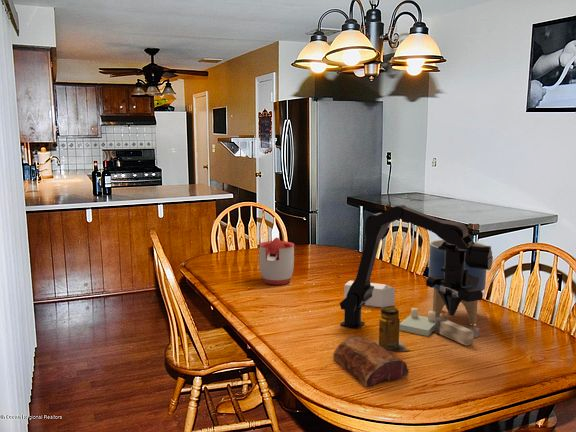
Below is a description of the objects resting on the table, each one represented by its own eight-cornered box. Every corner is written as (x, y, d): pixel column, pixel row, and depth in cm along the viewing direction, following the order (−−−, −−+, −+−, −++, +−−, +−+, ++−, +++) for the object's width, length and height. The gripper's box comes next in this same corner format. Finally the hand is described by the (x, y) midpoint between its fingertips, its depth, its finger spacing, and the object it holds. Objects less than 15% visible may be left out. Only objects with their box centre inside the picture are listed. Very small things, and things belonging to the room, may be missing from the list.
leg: (432, 331, 170) (433, 318, 170) (440, 329, 172) (441, 316, 171) (465, 345, 158) (466, 332, 158) (473, 343, 160) (474, 330, 159)
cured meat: (369, 342, 162) (369, 321, 161) (421, 375, 140) (422, 351, 139) (318, 353, 155) (318, 331, 154) (365, 390, 132) (366, 365, 131)
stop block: (476, 338, 165) (477, 331, 165) (460, 335, 168) (461, 327, 168) (478, 335, 168) (479, 328, 168) (463, 332, 171) (463, 325, 170)
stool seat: (428, 336, 167) (428, 321, 166) (398, 330, 172) (399, 315, 171) (439, 325, 177) (439, 311, 176) (410, 319, 182) (411, 305, 181)
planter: (415, 312, 190) (418, 242, 186) (455, 305, 198) (459, 237, 194) (453, 330, 173) (457, 252, 169) (495, 321, 181) (500, 247, 177)
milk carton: (343, 302, 201) (392, 309, 193) (343, 284, 200) (393, 290, 192) (348, 297, 207) (396, 303, 200) (349, 280, 206) (396, 285, 199)
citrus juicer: (253, 286, 222) (253, 240, 219) (264, 276, 238) (264, 233, 235) (288, 289, 218) (289, 242, 215) (297, 278, 235) (298, 235, 232)
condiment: (374, 343, 161) (375, 306, 159) (400, 341, 162) (402, 305, 160) (381, 352, 154) (383, 314, 152) (409, 351, 155) (410, 313, 153)
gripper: (498, 269, 149) (495, 321, 151) (454, 256, 166) (451, 303, 168) (468, 273, 145) (465, 327, 147) (426, 259, 162) (424, 307, 164)
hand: (451, 315), depth 157 cm, fingers closed
